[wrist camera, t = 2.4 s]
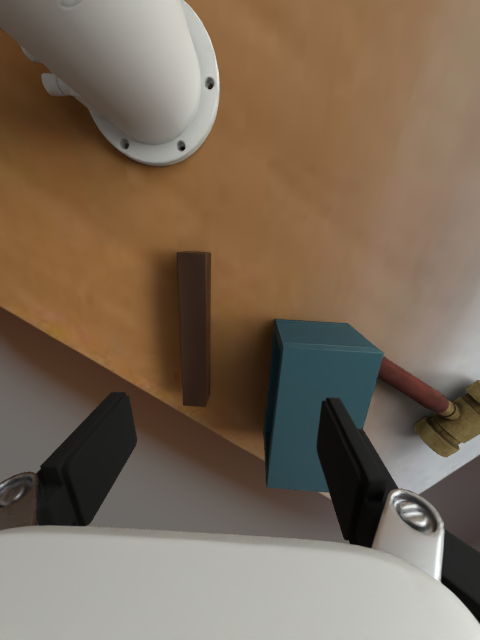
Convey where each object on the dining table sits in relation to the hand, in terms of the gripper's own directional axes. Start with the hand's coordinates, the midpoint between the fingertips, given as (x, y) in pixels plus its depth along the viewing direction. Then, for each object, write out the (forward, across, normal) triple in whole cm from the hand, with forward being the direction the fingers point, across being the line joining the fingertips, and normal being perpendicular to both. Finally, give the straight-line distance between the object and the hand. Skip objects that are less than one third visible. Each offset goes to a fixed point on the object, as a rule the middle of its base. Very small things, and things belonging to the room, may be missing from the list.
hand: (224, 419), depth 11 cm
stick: (+18, +6, +2) cm, 19 cm away
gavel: (+19, -21, +9) cm, 30 cm away
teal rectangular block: (+18, -8, +10) cm, 22 cm away
